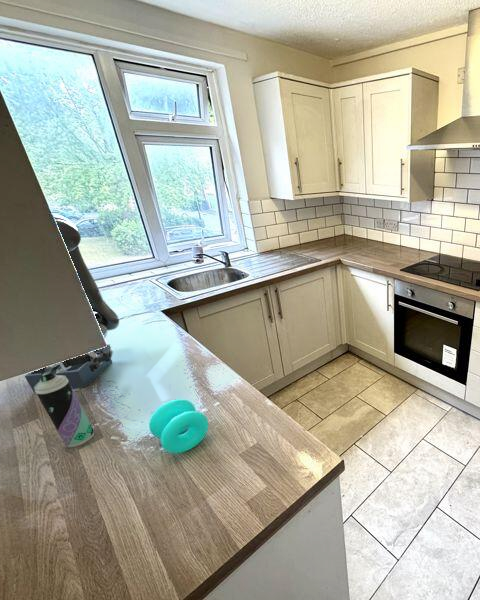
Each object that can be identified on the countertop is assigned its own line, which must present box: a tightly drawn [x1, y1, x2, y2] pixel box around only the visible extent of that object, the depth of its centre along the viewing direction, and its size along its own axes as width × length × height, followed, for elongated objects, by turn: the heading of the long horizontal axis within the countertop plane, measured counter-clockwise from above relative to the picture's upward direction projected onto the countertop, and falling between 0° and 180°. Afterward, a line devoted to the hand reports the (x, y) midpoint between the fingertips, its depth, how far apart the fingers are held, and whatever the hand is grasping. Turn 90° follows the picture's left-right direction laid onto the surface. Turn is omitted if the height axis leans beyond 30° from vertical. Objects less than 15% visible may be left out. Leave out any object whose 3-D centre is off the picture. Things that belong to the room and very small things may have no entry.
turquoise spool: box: [148, 398, 209, 454], centre depth 80 cm, size 10×10×10 cm
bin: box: [24, 353, 113, 393], centre depth 104 cm, size 14×14×6 cm
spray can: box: [34, 372, 95, 448], centre depth 78 cm, size 6×6×20 cm
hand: (70, 373), depth 85 cm, fingers open, 8 cm apart
